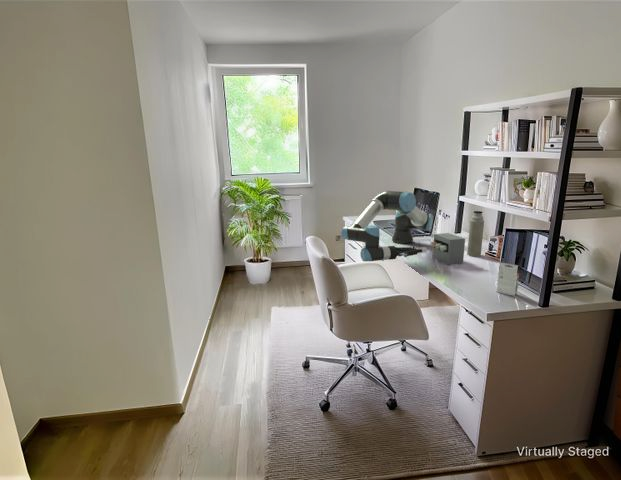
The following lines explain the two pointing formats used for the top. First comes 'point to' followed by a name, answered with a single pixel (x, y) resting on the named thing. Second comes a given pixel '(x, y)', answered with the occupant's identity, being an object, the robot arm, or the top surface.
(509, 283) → the ink box
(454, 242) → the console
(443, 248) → the sage button
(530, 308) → the top surface
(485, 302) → the top surface
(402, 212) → the robot arm
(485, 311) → the top surface
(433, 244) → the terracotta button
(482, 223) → the thermos bottle
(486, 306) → the top surface
